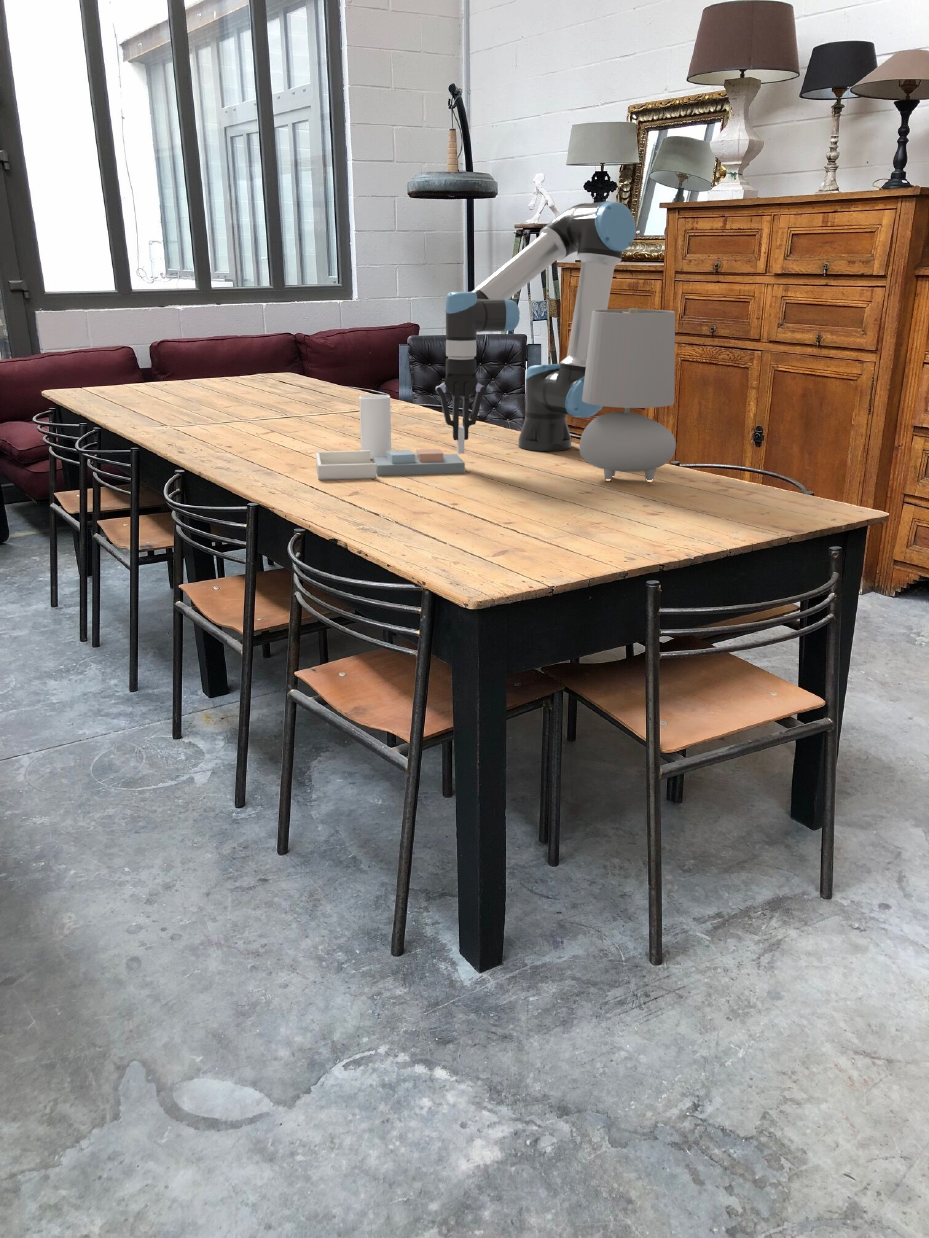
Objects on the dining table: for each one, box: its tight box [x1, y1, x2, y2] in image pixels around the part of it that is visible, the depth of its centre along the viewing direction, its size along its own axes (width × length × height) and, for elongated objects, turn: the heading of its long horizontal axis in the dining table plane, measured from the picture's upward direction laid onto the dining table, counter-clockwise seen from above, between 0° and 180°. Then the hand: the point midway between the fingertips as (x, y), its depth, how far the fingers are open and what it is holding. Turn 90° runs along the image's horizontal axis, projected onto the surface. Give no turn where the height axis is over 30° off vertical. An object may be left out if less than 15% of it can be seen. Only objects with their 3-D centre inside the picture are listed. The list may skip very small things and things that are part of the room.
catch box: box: [315, 450, 377, 481], centre depth 243 cm, size 14×18×4 cm
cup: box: [358, 394, 392, 460], centre depth 260 cm, size 8×8×16 cm
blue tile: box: [386, 449, 416, 463], centre depth 244 cm, size 6×6×2 cm
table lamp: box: [579, 307, 677, 480], centre depth 228 cm, size 23×22×40 cm
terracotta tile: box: [416, 448, 444, 462], centre depth 246 cm, size 6×6×2 cm
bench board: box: [372, 453, 466, 477], centre depth 246 cm, size 22×12×2 cm, turn 100°
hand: (460, 452), depth 247 cm, fingers closed
